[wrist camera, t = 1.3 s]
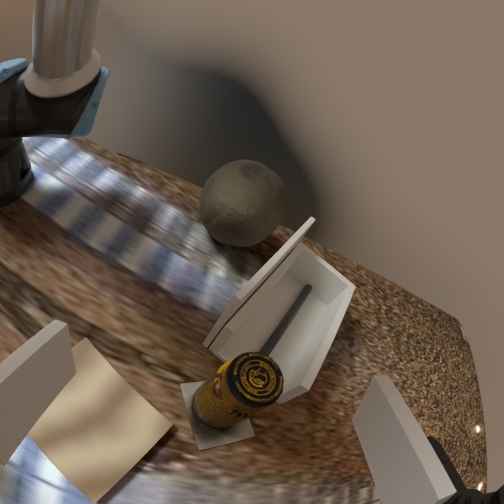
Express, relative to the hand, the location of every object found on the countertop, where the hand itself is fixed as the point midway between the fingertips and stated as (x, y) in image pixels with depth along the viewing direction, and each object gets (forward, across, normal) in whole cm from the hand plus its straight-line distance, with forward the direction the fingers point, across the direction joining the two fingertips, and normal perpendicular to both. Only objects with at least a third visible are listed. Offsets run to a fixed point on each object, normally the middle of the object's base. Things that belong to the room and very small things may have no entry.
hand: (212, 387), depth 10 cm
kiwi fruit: (+41, -3, -2) cm, 41 cm away
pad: (+8, -14, -17) cm, 23 cm away
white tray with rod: (+29, +8, -12) cm, 33 cm away
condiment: (+15, 0, -18) cm, 24 cm away
